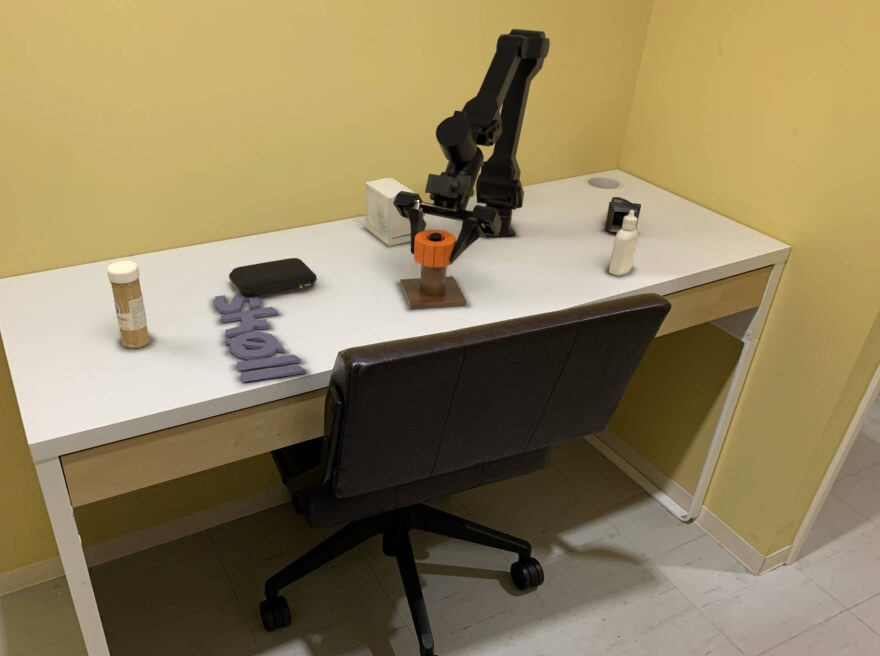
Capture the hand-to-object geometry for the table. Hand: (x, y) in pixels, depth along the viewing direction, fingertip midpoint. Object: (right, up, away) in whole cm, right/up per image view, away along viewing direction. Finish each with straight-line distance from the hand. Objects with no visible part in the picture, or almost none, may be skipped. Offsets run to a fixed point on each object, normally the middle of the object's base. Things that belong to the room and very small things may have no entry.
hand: (431, 257), depth 133 cm
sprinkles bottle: (-48, -15, -9) cm, 52 cm away
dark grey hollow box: (+43, +12, +33) cm, 56 cm away
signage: (-30, -14, -7) cm, 33 cm away
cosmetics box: (-7, +9, +28) cm, 30 cm away
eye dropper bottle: (+37, 0, +14) cm, 40 cm away
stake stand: (+1, -6, +5) cm, 8 cm away
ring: (+1, 0, +1) cm, 2 cm away
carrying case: (-28, -4, +8) cm, 29 cm away
